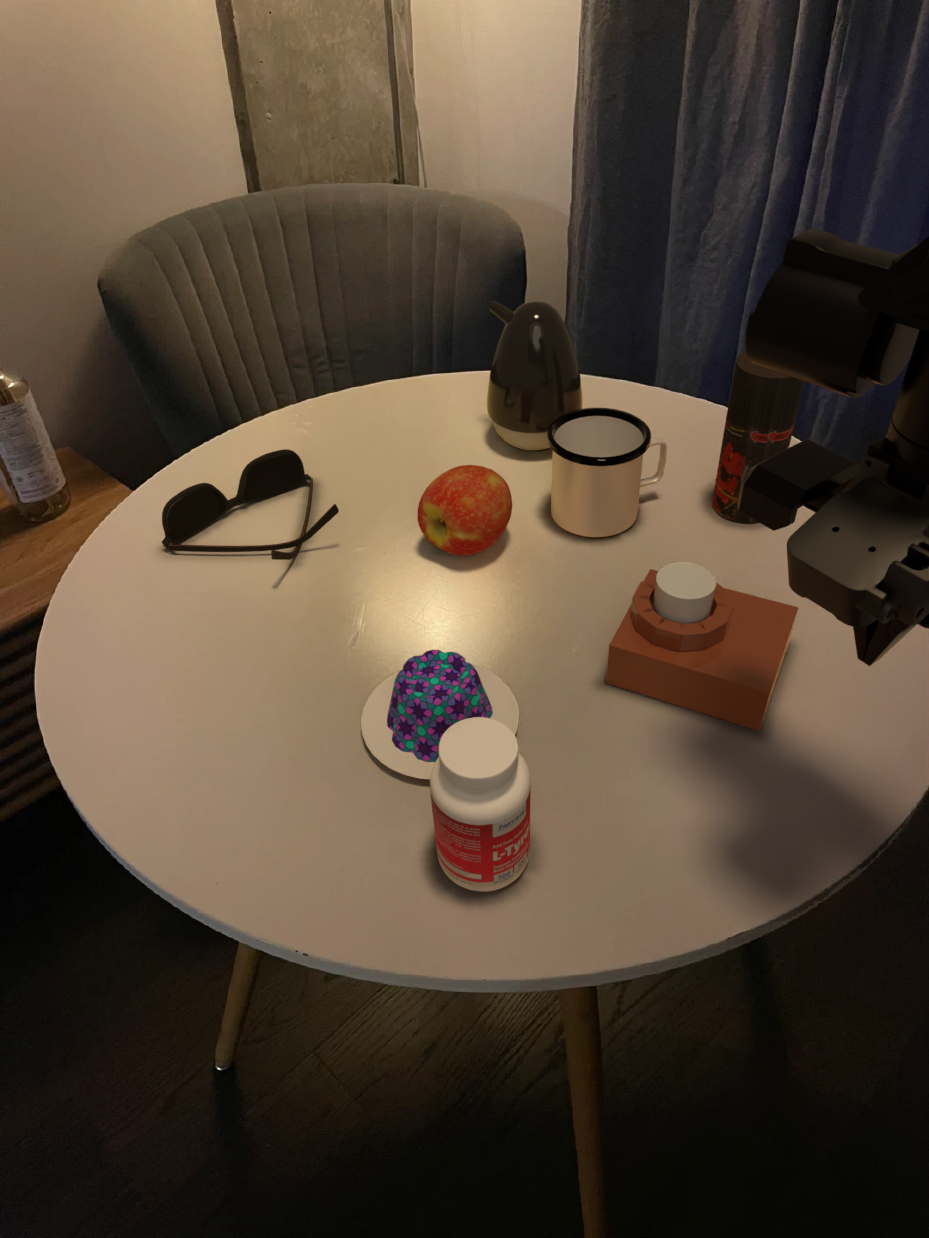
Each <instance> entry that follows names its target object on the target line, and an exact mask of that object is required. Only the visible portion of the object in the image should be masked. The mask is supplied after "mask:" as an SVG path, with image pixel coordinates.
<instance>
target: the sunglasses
mask: <svg viewBox="0 0 929 1238" xmlns="http://www.w3.org/2000/svg"><path fill="white" fill-rule="evenodd" d="M306 484H308V485H309V489H308V498H307V506H306V511H305V516H304V521H303V525H302V529H301V532H300V536H299V537H298V538H296V539H294V540H290V541H286V542H280V543H274V544H273V543H272V544H261V545H259V544H257V545H205V544H179V543H180V542H182V541H185V540H186V539H189V538H191V537H193V536H194V535H196V534H197V533H199V532H201V531H202V530H204V529H205V528H207V527H208V526H210V525H211V524H212V523H214V522H215V521H217V520H218V519H219V518H221V517H222V516H224V515H225V514H226V513H228V512H230V511H231V510H232V509H234V508H235V507H238V506H243V505H247V504H250V503H254V502H258V501H262V500H266V499H270V498H273V497H277V496H279V495H282V494H284V493H285V494H286V493H288V492H290V491H292V490H294V489H297V488H299V487H301V486H304V485H306ZM313 487H314V480H313V477H311V476H310V475H309V474H307V473H305V467H304V463H303V460H302V458H301V457H300V456H299V454H297V452H295V451H294V450H292V449H289V448H285V449H279V450H274V451H270V452H266V453H265V454H262V455H260V456H258V457H256V458H254V459H253V460H251V461H250V462H248V463H247V464H246V465H245V467H244V469H243V470H242V471H241V475H240V478H239V483H238V487H237V491H236V495H235V496H234V497H231V498H230V499H228V498H227V497H226V496H225V494H224V493H223V492H222V491H221V490H220V489H219V488H217V487H216V486H215V485H213V484H212V483H209V482H200V483H195V484H194V485H191V486H188V487H187V488H184V489H183V490H181V491H179V492H178V493H176V494H175V495H174V496H172V497H171V498H170V499H169V500H168V501H167V502H166V503H165V505H164V507H163V509H162V512H161V525H162V529H163V532H164V538H163V540H161V544H162V545H163V547H164V548H165V549H168V551H170V552H191V553H192V552H195V553H196V552H197V553H249V552H251V553H252V552H267V551H269V552H270V553H271V560H274V561H275V560H276V561H277V560H278V561H279V560H280V561H283V560H284V561H288V560H289V561H290V560H293V559H294V558H295V557H297V555H298V554H299V551H300V549H301V547H302V545H303V544H304V543H305V542H307V541H309V540H310V539H311V538H313V537H314V536H315V534H317V533H318V532H319V531H320V530H321V529H322V528H323V527H324V526H325V525H326V524H328V523H329V522H330V521H331V520H332V519H333V518H335V516H337V515H338V514H339V511H340V510H339V508H338V506H337V504H336V503H333V505H332V506H331V507H329V509H328V510H327V511H326V512H325V513H324V514H323V515H322V516H321V517H319V519H318V520H317V521H316V522H315V523H314V524H313V525H312V526H311V527H310V528H309V529H308V530H307V528H308V523H309V518H310V514H311V507H312V501H313ZM292 548H293V550H292V551H290V552H285V551H280V550H285V549H292Z"/></svg>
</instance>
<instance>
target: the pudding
mask: <svg viewBox="0 0 929 1238" xmlns="http://www.w3.org/2000/svg"><path fill="white" fill-rule="evenodd" d="M519 710H520V709H519V704H518V702H517V698H516V696H515V694H514V693H513V691H512V689H511V688H510V687H509V685H508V684H506V682H505V681H504V680H503V679H502V678H500V677H499V676H498V675H496V674H495V673H494V672H492V671H490V670H489V669H486V668H485V667H482V666H480V665H477V664H474V663H471V662H469V661H467V660H466V658H465V657H464V656H463V655H461V654H460V653H458V652H455V651H447V652H444V651H442V650H440V649H430V650H426V651H425V652H423V654H421V655H420V654H419V655H413V656H412V657H409V658H408V659H407V660H406V661H405V662H404V663H403V666H402V669H400V670H398V671H396V672H394V673H392V674H391V675H389V676H387V677H386V678H385V679H384V680H383V681H381V682H380V683H379V684H378V685H377V686H376V687H375V688H374V689H373V690H372V692H371V693H370V694H369V696H368V698H367V699H366V702H365V704H364V706H363V709H362V712H361V716H360V718H361V719H360V729H361V734H362V735H361V736H362V738H363V740H364V743H365V746H366V747H367V748H368V750H369V751H370V753H371V754H372V756H373V757H375V758H376V759H377V760H378V761H379V762H380V763H381V764H382V765H384V766H386V767H387V768H389V769H390V770H392V771H394V772H397V773H398V774H402V775H404V776H407V777H412V778H416V779H420V780H421V779H422V780H430V775H431V771H432V768H433V766H434V764H435V762H436V760H437V759H438V758H439V743H440V740H441V737H442V736H443V734H444V733H445V731H446V730H447V729H448V728H449V727H451V726H452V725H453V724H455V723H457V722H459V721H461V720H464V719H467V718H473V717H485V718H490V719H494V720H497V721H499V722H501V723H503V724H504V725H506V726H507V727H508V728H509V729H510V730H511V731H512V732H513V733H514V735H515V736H516V733H517V731H518V728H519V721H520V711H519Z"/></svg>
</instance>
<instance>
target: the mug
mask: <svg viewBox="0 0 929 1238" xmlns="http://www.w3.org/2000/svg"><path fill="white" fill-rule="evenodd" d="M547 442H548V445H549V446H550V448H549V449H551V450H552V459H551V465H552V466H551V491H550V492H551V493H550V495H551V496H550V497H551V498H550V499H551V500H550V513H551V518H552V519H553V521H554V522H555V523H556V525H557V526H558V527H560V528H561V529H563V530H564V531H567V532H569V533H571V534H574V535H577V536H581V537H587V538H605V537H610V536H616V535H617V534H621V533H622V532H624V531H626V530H628V529H629V528H630V527H632V526H633V525H634V523H635V522H636V520H637V517H638V512H639V511H638V510H639V501H640V491H641V488H644V487H646V486H650V485H654V484H655V483H658V482H660V480H661V479H662V478H663V476H664V473H665V467H666V461H667V454H668V453H667V452H668V451H667V450H668V444H667V442H666V441H665V440H664V439H663V438H660V437H657V438H652V431H651V429H650V427H649V425H648V424H647V423H646V422H645V421H644V420H642V419H641V418H640V417H638V416H636V415H634V414H632V413H630V412H627V411H625V410H620V409H616V408H610V407H585V408H582V409H579V410H575V411H571V412H568V413H566V414H564V415H561V416H560V417H558V418H557V419H555V420H554V421H553V422H552V423H551V424H550V426H549V428H548V432H547ZM655 446H659V447H660V448H659V457H658V463H657V470H656V472H655V474H653V476H650V477H645V478H642V472H643V462H644V454H645V453H647V451H648V449H649V448H653V447H655Z"/></svg>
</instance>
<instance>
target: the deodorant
mask: <svg viewBox="0 0 929 1238" xmlns="http://www.w3.org/2000/svg"><path fill="white" fill-rule="evenodd" d="M804 384H805V381H802V380H799V379H796V378H793V377H791V376H788V375H785V374H782V373H779V372H776V371H774V370H771V369H768V368H765V367H762V366H759V365H756V364H754V363H752V362H751V361H750V360H749V359H748V356H747V353H746V350H744V351H742V352H740V353H739V354H737V356H736V358H735V363H734V370H733V375H732V381H731V388H730V394H729V399H728V403H727V404H728V406H727V410H726V418H725V423H724V429H723V434H722V441H721V446H720V452H719V458H718V465H717V470H716V475H715V476H716V477H715V482H714V488H713V493H712V501H711V504H712V505H711V506H712V508H713V510H714V512H715V513H716V514H718V516H720V517H721V518H723V519H725V520H727V521H730V522H733V523H739V524H747V525H751V524H760V523H759V522H757V521H756V520H754V519H752V518H751V517H749V516H747V515H745V514H744V513H742V512H740V511H739V510H738V498H739V493H740V488H741V483H742V480H743V478H744V477H745V475H746V474H747V472H748V471H749V470H750V468H751V467H753V466H755V465H757V464H759V463H761V462H763V461H765V460H767V459H769V458H771V457H772V456H774V455H776V454H778V453H780V452H782V451H784V450H786V449H788V448H790V445H791V441H792V437H793V433H794V432H793V431H794V427H795V423H796V418H797V414H798V410H799V406H800V401H801V396H802V392H803V388H804Z"/></svg>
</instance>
